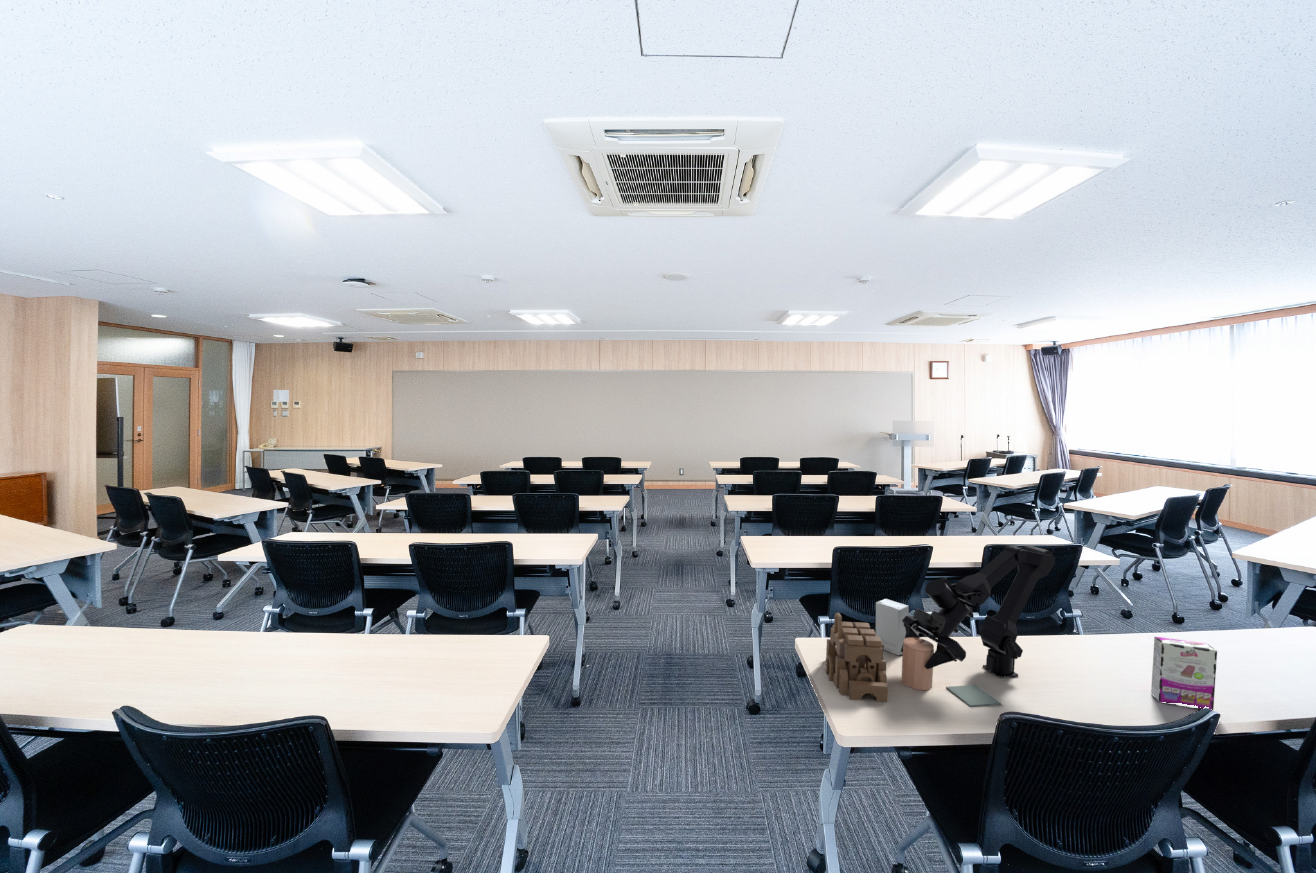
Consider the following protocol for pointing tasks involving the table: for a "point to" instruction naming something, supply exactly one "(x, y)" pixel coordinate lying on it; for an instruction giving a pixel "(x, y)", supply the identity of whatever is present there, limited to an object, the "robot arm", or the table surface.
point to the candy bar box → (1184, 672)
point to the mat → (973, 695)
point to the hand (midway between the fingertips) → (913, 659)
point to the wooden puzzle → (856, 660)
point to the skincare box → (891, 624)
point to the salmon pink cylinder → (917, 663)
